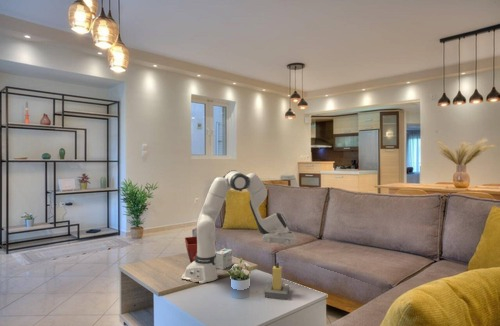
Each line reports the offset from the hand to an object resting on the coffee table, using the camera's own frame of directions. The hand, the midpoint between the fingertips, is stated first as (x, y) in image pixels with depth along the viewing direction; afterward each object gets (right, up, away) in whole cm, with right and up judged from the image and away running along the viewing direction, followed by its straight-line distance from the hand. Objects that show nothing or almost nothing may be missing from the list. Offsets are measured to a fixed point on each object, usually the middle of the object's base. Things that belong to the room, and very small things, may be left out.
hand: (277, 242), depth 187 cm
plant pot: (-51, -23, +34) cm, 66 cm away
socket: (-1, -25, -12) cm, 28 cm away
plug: (-1, -25, -12) cm, 27 cm away
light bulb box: (-34, -24, +29) cm, 50 cm away
